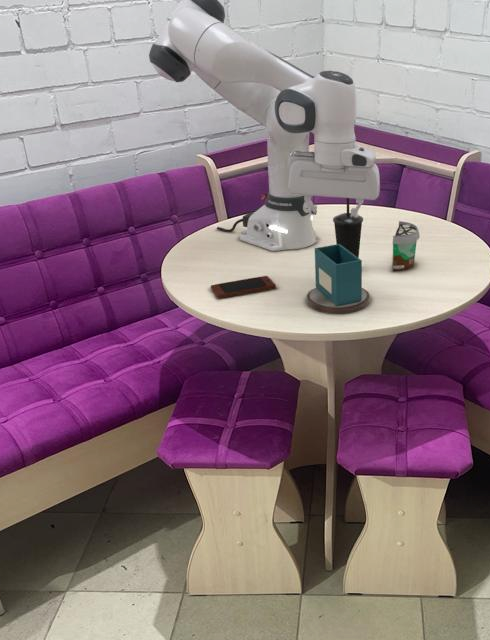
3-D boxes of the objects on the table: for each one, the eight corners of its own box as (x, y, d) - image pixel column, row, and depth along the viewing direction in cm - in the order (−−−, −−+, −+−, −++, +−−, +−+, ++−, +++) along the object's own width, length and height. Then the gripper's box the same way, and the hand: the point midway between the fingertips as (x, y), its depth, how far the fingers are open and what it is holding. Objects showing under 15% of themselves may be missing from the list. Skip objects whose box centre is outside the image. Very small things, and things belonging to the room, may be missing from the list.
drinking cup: (348, 261, 201) (347, 187, 190) (368, 269, 196) (369, 193, 186) (327, 269, 196) (326, 194, 186) (348, 277, 191) (348, 200, 181)
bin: (339, 282, 184) (339, 243, 179) (361, 300, 175) (361, 260, 170) (315, 287, 182) (314, 248, 177) (336, 306, 172) (335, 265, 167)
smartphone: (276, 284, 185) (217, 295, 180) (276, 288, 185) (217, 298, 180) (267, 274, 190) (209, 284, 186) (267, 278, 191) (210, 288, 186)
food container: (415, 275, 192) (417, 237, 187) (391, 273, 193) (392, 236, 188) (420, 257, 202) (422, 221, 197) (398, 256, 203) (399, 220, 198)
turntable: (294, 305, 177) (294, 299, 176) (328, 283, 188) (328, 277, 187) (349, 319, 170) (349, 313, 170) (380, 295, 181) (380, 289, 180)
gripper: (284, 153, 160) (285, 216, 167) (379, 159, 157) (375, 223, 164) (291, 146, 165) (291, 208, 173) (382, 152, 163) (379, 214, 170)
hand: (333, 215), depth 168 cm, fingers open, 8 cm apart
